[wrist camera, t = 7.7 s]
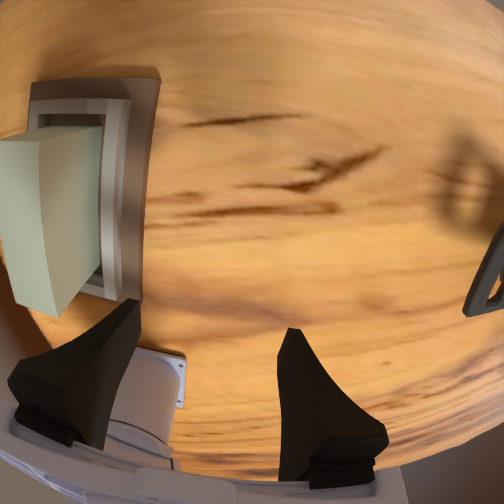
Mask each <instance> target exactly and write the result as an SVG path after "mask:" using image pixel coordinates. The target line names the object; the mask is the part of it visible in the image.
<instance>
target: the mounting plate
mask: <svg viewBox="0 0 504 504" xmlns="http://www.w3.org/2000/svg"><path fill="white" fill-rule="evenodd" d="M160 85H161V80H159V79H149V78H76V79H61V80H50V81H40V82H32V84H31V91H30V100H29V110H28V124H27V132H28V131H32V130H36V129H40V128H44V127H49V126H53V125H58V124H64V125H94V126H102V135H101V147H100V161H99V183H98V235H99V257H100V265H99V266H98V268H97V269H96V270H95V271H94V272H93V274H92V275H91V276H90V277H89V279H88V280H87V281H86V282H85V284H84V285H83V286H82V288H81V289H80V290H79V291H78V292H79V293H83V294H87V295H90V296H94V297H98V298H102V299H105V300H109V301H113V302H117V303H121V304H122V303H123V302H124V301H125V300H126V299H128V298H131V299H135V300H140V305H141V303H142V301H143V295H142V273H143V235H144V216H145V201H146V188H147V177H148V167H149V158H150V150H151V142H152V134H153V127H154V120H155V114H156V107H157V101H158V96H159V90H160Z"/></svg>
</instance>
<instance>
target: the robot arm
mask: <svg viewBox="0 0 504 504" xmlns="http://www.w3.org/2000/svg"><path fill="white" fill-rule="evenodd" d="M140 333H141V315H140V300H135V299H131V298H128V299H126V300H125V301H124V302H123V303H122V304H120V305H119V306H118V307H117V308H116V309H115V310H113V311H112V312H111V313H110V314H109V315H107V316H106V317H105V318H104V319H102V320H101V321H100V322H99V323H97V324H96V325H95V326H93V327H92V328H90V329H89V330H88V331H86V332H85V333H83V334H82V335H80V336H79V337H77V338H75V339H74V340H72V341H70V342H68V343H66V344H64V345H62V346H60V347H58V348H55V349H53V350H51V351H48V352H45V353H43V354H40V355H37V356H33V357H29V358H26V359H22V360H20V361H19V362H18V364H17V365H16V367H15V368H14V370H13V371H12V373H11V375H10V377H9V378H8V380H7V381H8V386H9V388H10V390H11V392H12V393H13V395H14V396H15V398H16V399H17V401H18V403H19V406H18V408H17V409H16V408H15V407H14V406H13V405H12V404H10V403H8V402H6V401H5V400H3V399H2V398H0V457H1V458H2V459H4V460H6V461H7V462H9V463H10V464H12V465H14V466H15V467H17V468H18V469H20V470H22V471H23V472H25V473H27V474H28V475H30V476H32V477H34V478H35V479H37V480H39V481H41V482H43V483H44V484H46V485H48V486H50V487H52V488H54V489H56V490H58V491H60V493H61V495H62V496H63V498H64V499H65V500H66V502H67V503H68V504H409V503H408V499H407V494H406V490H405V486H404V482H403V478H402V474H401V470H400V467H399V466H395V467H389V468H383V469H379V470H376V471H373V466H374V465H375V459H374V458H375V457H376V456H377V455H378V454H380V453H381V452H382V451H383V450H384V449H385V448H386V447H387V446H388V444H389V439H388V435H387V431H386V428H385V426H384V424H382V423H381V422H379V421H378V420H376V419H375V418H373V417H372V416H370V415H369V414H368V413H366V412H365V411H364V410H363V409H361V408H360V407H359V406H358V405H356V404H355V403H354V402H353V401H352V400H351V399H350V398H349V397H348V396H347V395H346V394H345V393H344V392H343V391H342V390H341V389H340V388H339V387H338V386H337V384H336V383H335V382H334V381H333V380H332V378H331V377H330V376H329V375H328V373H327V372H326V370H325V369H324V368H323V366H322V365H321V363H320V362H319V360H318V358H317V357H316V355H315V354H314V352H313V350H312V349H311V347H310V345H309V343H308V342H307V340H306V338H305V336H304V335H303V333H302V331H301V330H300V329H294V328H288V330H287V333H286V335H285V338H284V340H283V343H282V346H281V348H280V351H279V353H278V356H277V379H278V388H279V397H280V406H281V452H280V467H279V477H278V482H277V481H253V480H239V479H229V478H220V477H212V476H205V475H198V474H192V473H186V472H182V468H181V466H180V464H179V462H178V460H177V459H176V458H174V457H171V456H172V450H173V448H172V447H169V446H168V442H169V437H170V432H171V427H172V422H173V418H174V413H175V408H176V407H179V408H182V407H183V405H184V391H185V377H186V364H187V360H186V359H185V358H183V357H179V356H175V355H170V354H165V353H161V352H157V351H152V350H148V349H144V348H140V347H136V346H137V343H138V340H139V337H140ZM181 364H182V365H181Z"/></svg>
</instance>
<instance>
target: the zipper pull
mask: <svg viewBox="0 0 504 504" xmlns="http://www.w3.org/2000/svg"><path fill="white" fill-rule="evenodd" d="M500 272H501V274H500ZM499 274H500V281H501V282H502V283H501V284H500V286H499V288H498V290H497V292H496V294H495V295H494V296H493V297H491V298H490V299H488V297H489V295H490V292H491V290H492V288H493V286H494V284H495V282H496V280H497V278H498V276H499ZM503 308H504V222H503V223H501V225H500V227H499V229H498V230H497V232H496V234H495V236H494V238H493V240H492V241H491V244H490V246H489V248H488V250H487V252H486V254H485V256H484V258H483V260H482V262H481V265H480V267H479V269H478V271H477V273H476V276H475V278H474V280H473V282H472V285H471V287H470V290H469V292H468V294H467V297H466V300H465V303H464V306H463V309H462V312H463V314H464V315H465V316H466V317H467V318H468V317H472V316H477V315H481V314H485V313H489V312H493V311H496V310H500V309H503Z"/></svg>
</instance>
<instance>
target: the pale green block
mask: <svg viewBox="0 0 504 504" xmlns="http://www.w3.org/2000/svg"><path fill="white" fill-rule="evenodd" d="M101 135H102V126H94V125H64V124H58V125H53V126H49V127H44V128H40V129H36V130H32V131H28V132H24V133H20V134H17V135H13V136H10V137H6V138H3V139H0V236H1V241H2V247H3V252H4V257H5V261H6V266H7V270H8V274H9V278H10V282H11V286H12V290H13V293H14V297H15V300H16V303H18V304H21V305H23V306H26V307H28V308H31V309H34V310H36V311H39V312H42V313H45V314H47V315H50V316H53V317H56V318H59V317H60V315H61V314H62V313H63V311H64V310H65V309H66V307H67V306H68V305H69V303H70V302H71V301H72V299H73V298H74V297H75V295H76V294H77V293H78V291H79V290H80V289H81V288H82V286H83V285H84V284H85V282H86V281H87V280H88V279H89V277H90V276H91V275H92V274H93V272H94V271H95V270H96V269H97V268H98V266H99V265H100V257H99V235H98V183H99V161H100V147H101Z"/></svg>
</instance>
